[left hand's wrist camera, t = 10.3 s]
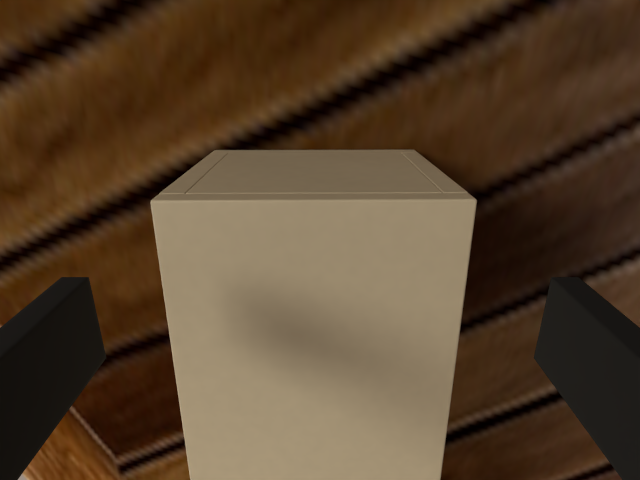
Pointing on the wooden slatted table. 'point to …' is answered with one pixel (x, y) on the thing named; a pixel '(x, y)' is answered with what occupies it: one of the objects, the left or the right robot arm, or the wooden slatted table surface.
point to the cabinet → (314, 311)
